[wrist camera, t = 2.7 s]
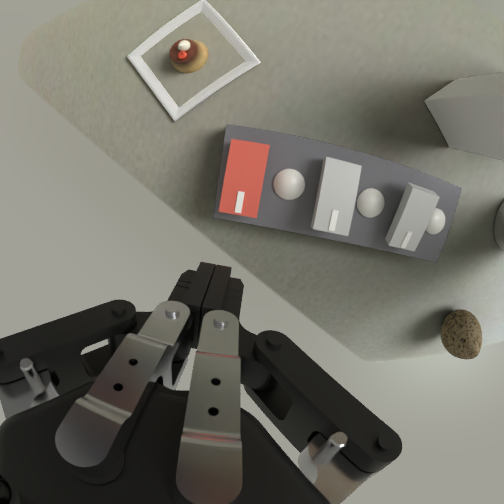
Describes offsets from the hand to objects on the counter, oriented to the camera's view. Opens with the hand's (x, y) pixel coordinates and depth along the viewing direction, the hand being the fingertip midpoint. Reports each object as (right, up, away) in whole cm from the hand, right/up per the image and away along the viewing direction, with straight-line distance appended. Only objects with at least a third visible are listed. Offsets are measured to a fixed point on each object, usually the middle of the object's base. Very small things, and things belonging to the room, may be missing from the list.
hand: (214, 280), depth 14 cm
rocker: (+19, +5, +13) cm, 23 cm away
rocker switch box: (+13, +9, +18) cm, 23 cm away
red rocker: (+1, +8, +13) cm, 15 cm away
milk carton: (+28, +19, +12) cm, 36 cm away
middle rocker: (+10, +7, +13) cm, 18 cm away
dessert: (-5, +25, +13) cm, 28 cm away
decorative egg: (+36, -10, +24) cm, 44 cm away
